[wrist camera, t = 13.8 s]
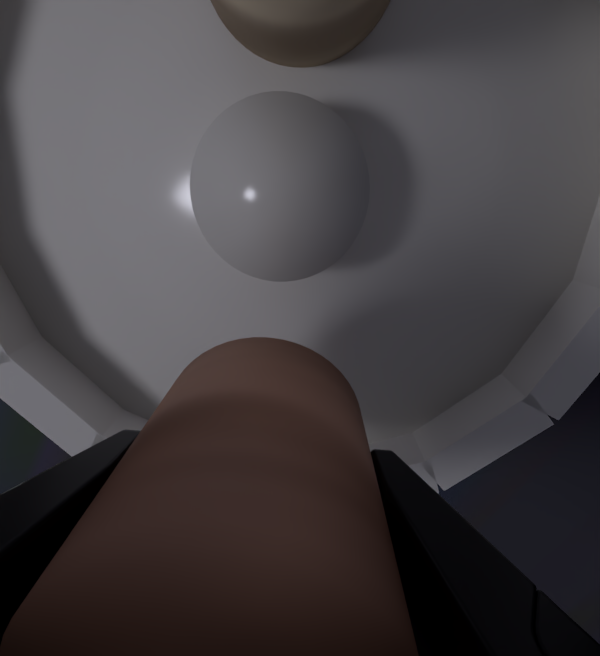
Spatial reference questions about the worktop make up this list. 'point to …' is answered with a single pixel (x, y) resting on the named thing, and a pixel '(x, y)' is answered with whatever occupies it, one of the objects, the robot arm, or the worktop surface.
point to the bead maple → (300, 27)
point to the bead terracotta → (231, 526)
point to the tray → (304, 215)
